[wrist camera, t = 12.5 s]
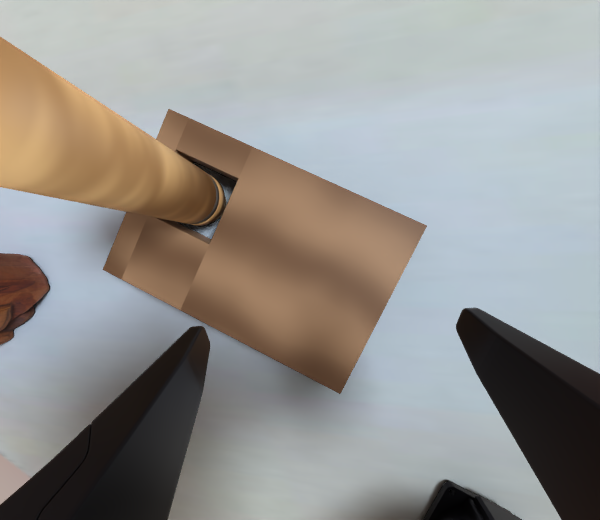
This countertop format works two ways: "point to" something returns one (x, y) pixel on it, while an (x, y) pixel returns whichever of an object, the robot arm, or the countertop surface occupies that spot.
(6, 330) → the wooden figurine
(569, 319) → the countertop surface
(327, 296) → the walnut board
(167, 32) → the countertop surface
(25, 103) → the oak peg
